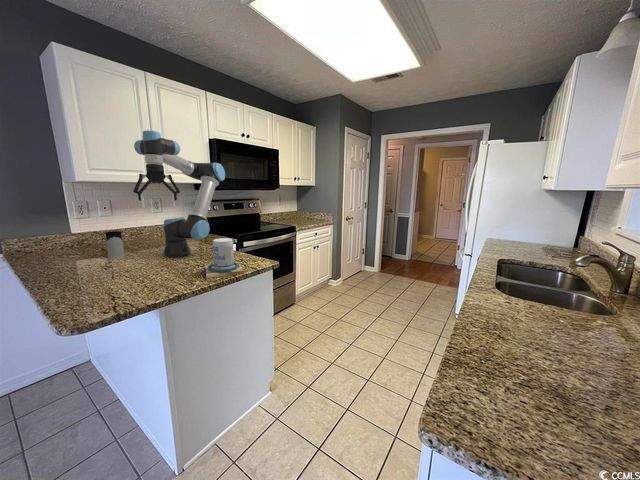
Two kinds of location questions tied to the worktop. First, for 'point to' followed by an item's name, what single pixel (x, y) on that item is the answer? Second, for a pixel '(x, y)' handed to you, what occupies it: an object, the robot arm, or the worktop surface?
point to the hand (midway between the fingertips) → (159, 207)
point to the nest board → (223, 270)
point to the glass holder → (115, 244)
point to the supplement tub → (223, 253)
